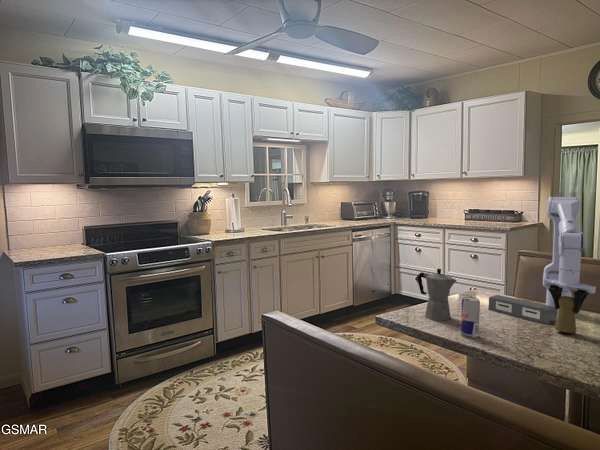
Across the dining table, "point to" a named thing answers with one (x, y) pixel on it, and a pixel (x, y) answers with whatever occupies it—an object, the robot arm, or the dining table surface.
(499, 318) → the dining table surface
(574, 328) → the cork
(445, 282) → the coffeepot
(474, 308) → the energy drink
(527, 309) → the dark gray slotted box
